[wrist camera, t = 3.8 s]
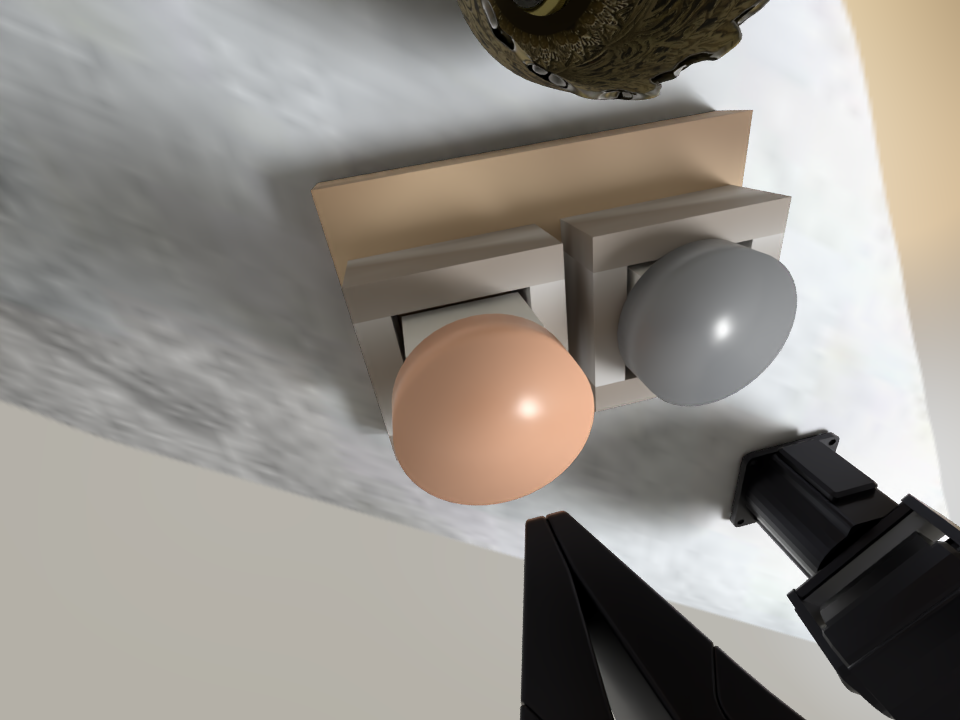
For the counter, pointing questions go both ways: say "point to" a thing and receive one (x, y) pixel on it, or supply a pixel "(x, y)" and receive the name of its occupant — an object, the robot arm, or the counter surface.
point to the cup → (607, 40)
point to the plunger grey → (705, 320)
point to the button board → (541, 234)
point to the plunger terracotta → (487, 402)
